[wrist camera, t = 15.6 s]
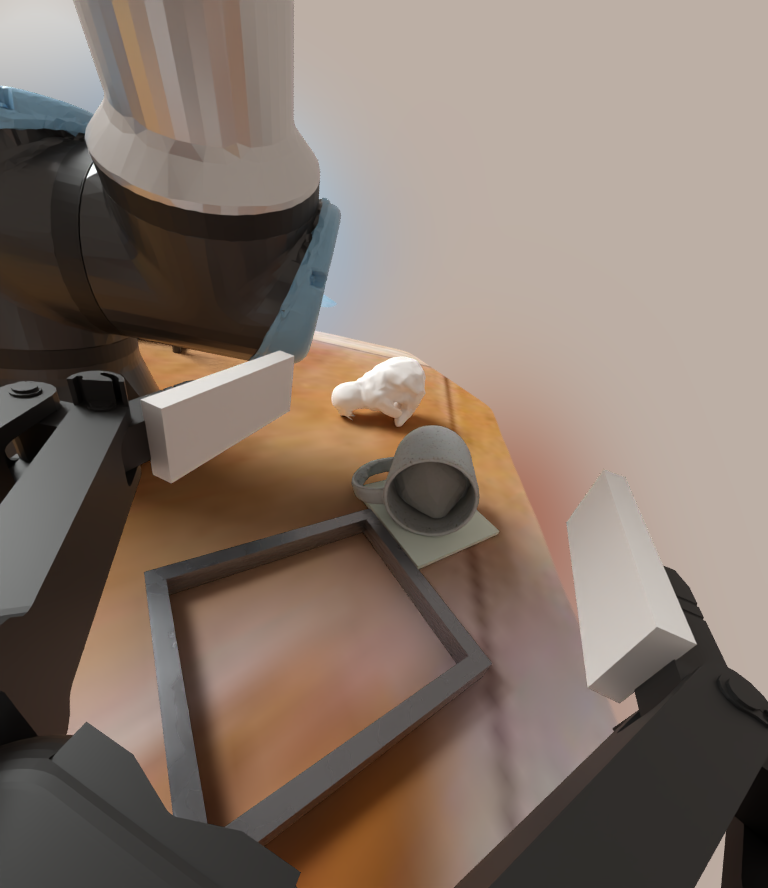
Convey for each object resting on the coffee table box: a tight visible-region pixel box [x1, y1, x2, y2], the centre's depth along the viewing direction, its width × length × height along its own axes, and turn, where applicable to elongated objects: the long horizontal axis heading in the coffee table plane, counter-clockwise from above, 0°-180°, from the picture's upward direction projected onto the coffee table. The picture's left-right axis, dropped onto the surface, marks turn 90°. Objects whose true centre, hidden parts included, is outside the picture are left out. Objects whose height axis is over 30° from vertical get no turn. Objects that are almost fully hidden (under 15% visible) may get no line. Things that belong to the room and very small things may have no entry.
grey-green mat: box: [363, 480, 499, 569], centre depth 33 cm, size 10×10×1 cm
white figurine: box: [332, 357, 425, 427], centre depth 46 cm, size 6×8×12 cm
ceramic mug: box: [352, 425, 479, 536], centre depth 31 cm, size 11×8×8 cm
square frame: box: [144, 508, 492, 846], centre depth 21 cm, size 14×16×2 cm
